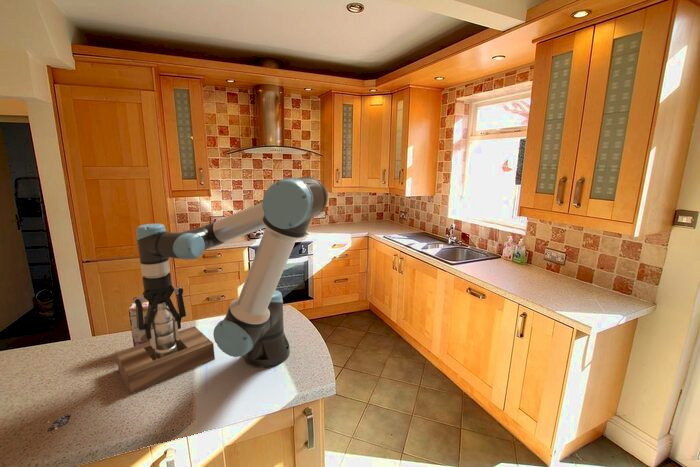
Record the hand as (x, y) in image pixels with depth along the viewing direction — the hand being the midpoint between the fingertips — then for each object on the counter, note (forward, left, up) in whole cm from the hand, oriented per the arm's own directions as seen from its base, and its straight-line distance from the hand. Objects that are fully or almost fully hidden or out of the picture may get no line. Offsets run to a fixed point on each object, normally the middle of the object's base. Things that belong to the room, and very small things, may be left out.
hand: (165, 342), depth 106 cm
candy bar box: (+15, 0, -8) cm, 17 cm away
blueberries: (-7, +28, -8) cm, 30 cm away
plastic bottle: (0, 0, -6) cm, 6 cm away
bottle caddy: (0, 0, -8) cm, 8 cm away
